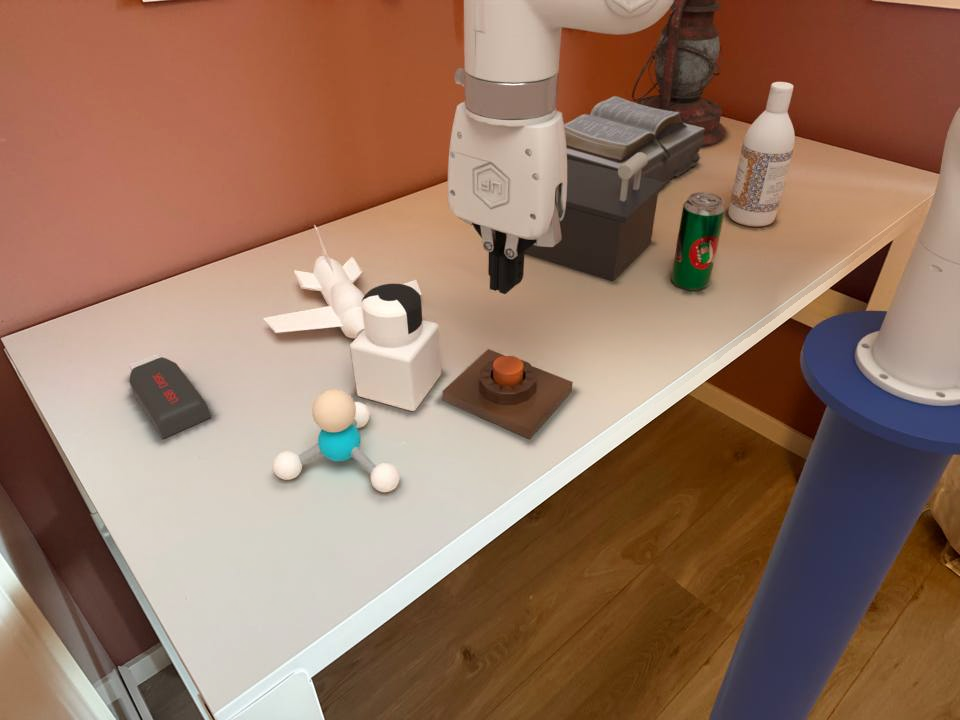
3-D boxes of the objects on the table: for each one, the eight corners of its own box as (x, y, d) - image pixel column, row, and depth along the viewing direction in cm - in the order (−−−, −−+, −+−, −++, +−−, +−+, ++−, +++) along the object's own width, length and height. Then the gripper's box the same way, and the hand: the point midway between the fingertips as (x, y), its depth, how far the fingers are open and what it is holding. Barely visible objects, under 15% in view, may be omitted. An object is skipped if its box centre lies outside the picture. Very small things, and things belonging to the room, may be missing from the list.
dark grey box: (650, 243, 105) (659, 186, 99) (613, 281, 96) (620, 222, 91) (562, 218, 111) (566, 164, 106) (520, 252, 103) (521, 195, 97)
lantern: (650, 107, 150) (671, -56, 132) (739, 125, 142) (775, -48, 123) (608, 135, 138) (625, -41, 120) (702, 156, 130) (737, -30, 111)
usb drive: (162, 439, 73) (154, 419, 72) (125, 382, 81) (117, 362, 79) (211, 417, 76) (205, 398, 74) (171, 363, 83) (164, 344, 82)
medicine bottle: (387, 359, 83) (376, 270, 76) (442, 374, 81) (437, 283, 74) (356, 397, 78) (341, 305, 71) (414, 413, 76) (405, 320, 69)
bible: (720, 172, 124) (732, 115, 118) (609, 217, 111) (616, 156, 105) (622, 134, 139) (628, 82, 133) (514, 169, 126) (515, 113, 120)
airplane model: (282, 372, 82) (269, 318, 77) (249, 290, 96) (236, 240, 91) (443, 328, 88) (441, 275, 84) (390, 256, 102) (385, 208, 98)
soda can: (675, 269, 99) (690, 187, 91) (712, 277, 97) (730, 194, 89) (666, 287, 95) (680, 203, 88) (704, 295, 93) (722, 211, 86)
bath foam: (722, 207, 113) (750, 77, 101) (767, 207, 113) (800, 77, 101) (733, 228, 108) (763, 92, 96) (780, 228, 108) (816, 92, 95)
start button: (528, 374, 77) (529, 361, 76) (512, 390, 75) (513, 377, 74) (503, 364, 78) (503, 351, 77) (487, 380, 76) (487, 367, 75)
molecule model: (270, 508, 66) (250, 439, 61) (285, 421, 75) (269, 355, 70) (401, 497, 67) (392, 428, 61) (399, 412, 76) (392, 346, 71)
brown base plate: (572, 391, 79) (573, 370, 77) (530, 439, 73) (530, 417, 71) (488, 358, 83) (488, 337, 82) (442, 400, 78) (441, 379, 76)
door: (664, 187, 99) (671, 146, 95) (625, 223, 91) (631, 180, 87) (566, 163, 106) (568, 124, 102) (521, 195, 97) (522, 153, 94)
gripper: (409, 88, 59) (420, 280, 70) (570, 125, 52) (554, 329, 64) (462, 67, 64) (464, 249, 75) (614, 97, 57) (592, 292, 69)
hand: (505, 285), depth 69 cm, fingers closed
